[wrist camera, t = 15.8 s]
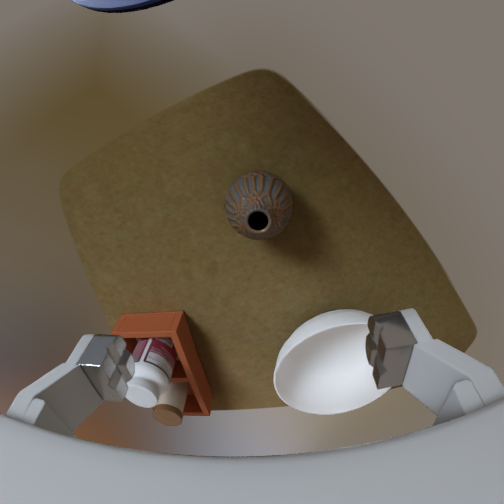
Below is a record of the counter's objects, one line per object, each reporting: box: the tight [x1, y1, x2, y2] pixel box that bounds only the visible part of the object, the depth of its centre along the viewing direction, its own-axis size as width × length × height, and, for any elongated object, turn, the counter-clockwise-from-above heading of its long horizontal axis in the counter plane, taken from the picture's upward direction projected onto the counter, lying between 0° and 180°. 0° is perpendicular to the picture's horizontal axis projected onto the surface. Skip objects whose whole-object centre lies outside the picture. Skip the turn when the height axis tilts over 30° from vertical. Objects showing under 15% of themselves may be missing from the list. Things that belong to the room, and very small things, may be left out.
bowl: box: [273, 309, 391, 415], centre depth 40 cm, size 18×18×7 cm
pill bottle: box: [125, 337, 178, 408], centre depth 39 cm, size 6×6×11 cm
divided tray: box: [111, 311, 213, 416], centre depth 44 cm, size 10×19×5 cm, turn 8°
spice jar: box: [153, 382, 190, 426], centre depth 44 cm, size 5×5×8 cm
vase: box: [225, 171, 293, 240], centre depth 31 cm, size 7×7×9 cm
